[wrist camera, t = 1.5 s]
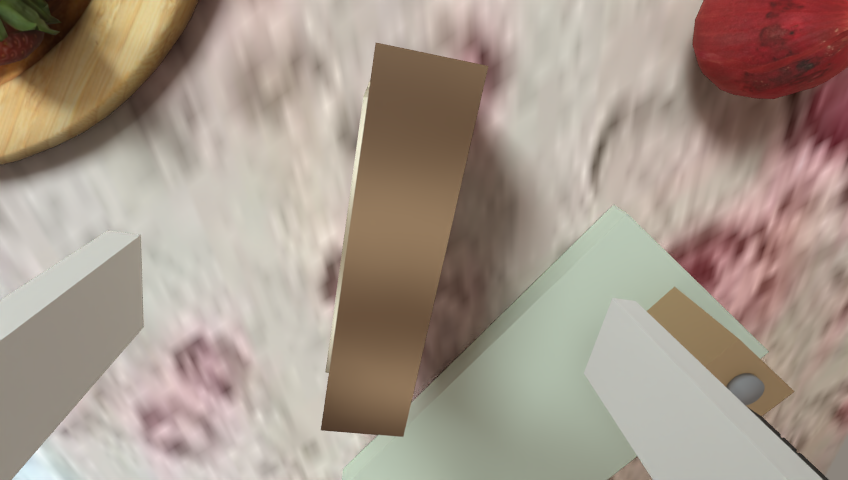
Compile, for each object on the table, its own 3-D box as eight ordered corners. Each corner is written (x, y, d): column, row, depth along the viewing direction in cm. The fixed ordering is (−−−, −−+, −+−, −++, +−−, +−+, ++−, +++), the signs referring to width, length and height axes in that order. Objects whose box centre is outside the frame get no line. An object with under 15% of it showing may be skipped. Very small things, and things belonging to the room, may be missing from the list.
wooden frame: (375, 44, 21) (369, 41, 12) (445, 59, 21) (493, 67, 12) (340, 292, 26) (316, 430, 16) (398, 300, 26) (407, 437, 17)
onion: (712, 113, 23) (865, 143, 16) (632, 46, 22) (760, 45, 14) (801, 6, 22) (1015, -15, 14) (721, -75, 20) (916, -145, 13)
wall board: (613, 204, 25) (693, 258, 18) (750, 337, 29) (852, 417, 23) (343, 469, 31) (332, 579, 24) (491, 547, 35) (515, 658, 29)
